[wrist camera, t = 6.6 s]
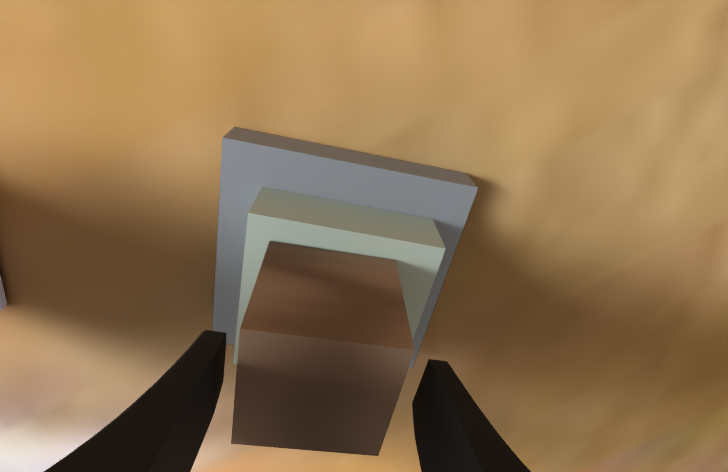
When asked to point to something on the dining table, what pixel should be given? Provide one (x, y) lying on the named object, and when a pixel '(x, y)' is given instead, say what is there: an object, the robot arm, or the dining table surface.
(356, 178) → the tower base slab
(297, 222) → the tower top slab
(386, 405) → the walnut cube
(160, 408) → the robot arm
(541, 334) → the dining table surface
